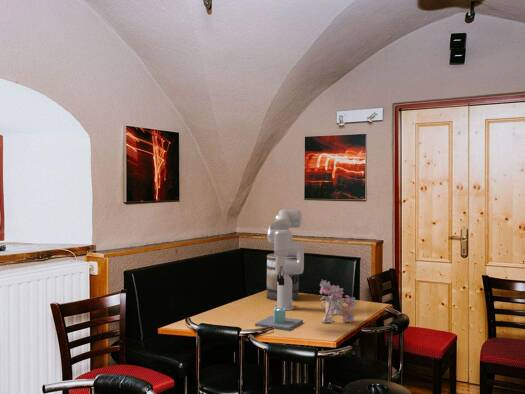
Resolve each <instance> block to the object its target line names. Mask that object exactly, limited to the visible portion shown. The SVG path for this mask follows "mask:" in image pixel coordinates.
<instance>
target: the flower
mask: <svg viewBox="0 0 525 394" xmlns="http://www.w3.org/2000/svg"><path fill="white" fill-rule="evenodd" d="M319 286H320V290H319V293H320V295H323V296H321V298H320V299H319V301H321V300H325V299H327V301H326V300H325V301H326V302H329V307H328V311H327V314H326V313H325V314H326V315H324V316H323V317H322V321H321V324H325V323H330V324H332V323H333V321H334V317H335V316H342V319H341V320H342V321H343V322H347V321H348V322H349V323H352V322H353V321H355V317H356V316H355V315H354V313H351V310H350V308H352V309H353V308H355V307H356V306H357V299H356V297H351V296H349V295H347V294H346V295H344V297H345V298H344V299H343V294H344V288H343V287H342V288H341V287H340V285H332V284H331V282H330V281H327V280H326V279H325V280H323V279H321V281H320V283H319ZM326 295H328V296H326ZM329 296H330V297H329ZM330 298H331V299H330ZM333 300H334V301H335V302H334V301H333ZM326 302H325V303H326ZM331 302H332V303H333V305H334V306H333V308H330V304H331ZM343 304H346V306H345V305H343ZM336 307H337V311H338V312H337V313H336V310H335V309H336ZM329 310H332V311H331V313H330V314H328V313H329ZM343 310H345V313H346V314H345V313H344V312H343ZM333 311H334V313H335V315H331V314H332V312H333Z"/></svg>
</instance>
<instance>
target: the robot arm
mask: <svg viewBox="0 0 525 394" xmlns="http://www.w3.org/2000/svg"><path fill="white" fill-rule="evenodd" d="M274 217H275V218H274V222H272V223H271V224H269V226H268V228H267V233H266V239H267V241H268V242H269V243H273V244H274V245H273V246H274V247H273V248H274V249H273V254H274V256H276V265H275V272H276V274H277V301H276V304H275V306H274V308H285V311H292V310H295V306H294V305H293V303H294V300H292V279H291V278H290V276H289V275H288V274H299V275H301V274H303V273H304V268H305V266H304V265H305V257H304V255H305V251H304V250H305V249H304V245H303V243H302V242H301V241H293V233H292V232H291V229H290V228H294V229H295V228H301V227H302V226H303V214H302V211H301V210H300V209H297V208H293V209H292V208H284V209H281V210H279V211H278V214H277V215H276V216H274ZM285 257H296V258H297V259H285Z"/></svg>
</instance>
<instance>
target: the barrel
mask: <svg viewBox="0 0 525 394" xmlns="http://www.w3.org/2000/svg"><path fill="white" fill-rule="evenodd" d="M285 259H297V258H296V257H285ZM275 265H276V256H274V253H268V254H267V255H266V299H268V300H270V301H274V302H275V301H276V302H277V274H276V272H275ZM288 275H289V276H290V278H291V279H292V300H293V301H297V300H299V296H300V295H299V291H300V289H299V287H300V285H299V284H300V283H299V282H300V274H288Z"/></svg>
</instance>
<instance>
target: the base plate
mask: <svg viewBox="0 0 525 394" xmlns="http://www.w3.org/2000/svg"><path fill="white" fill-rule="evenodd" d="M303 323H304V321H303V319H298V318H289V317H285V323H274V315H270V316H268V317H266V318H263V319H261V320H259V321H258V322H255V324H254V325H255V327H258V326H260V327H259V328H265V327H269V326H271V327H274V329H273V330H281V331H287V332H289V331H291V330H293V329H294V328H296V327H298V326H299V325H301V324H303Z"/></svg>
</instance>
